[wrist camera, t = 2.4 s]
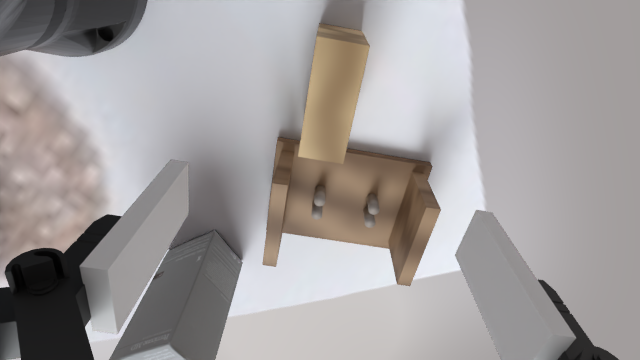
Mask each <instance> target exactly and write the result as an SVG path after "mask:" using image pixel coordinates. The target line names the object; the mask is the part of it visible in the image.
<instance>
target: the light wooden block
mask: <svg viewBox="0 0 640 360" xmlns="http://www.w3.org/2000/svg"><path fill="white" fill-rule="evenodd" d="M369 47H370V45H369V44H368V42H367V40H366V38H365V36H364V34H363V32H362V31H359V30H354V29H348V28H343V27H338V26H332V25H327V24H321V23H319V28H318V32H317V38H316V44H315V50H314V57H313V63H312V70H311V76H310V83H309V89H308V95H307V102H306V108H305V115H304V121H303V128H302V134H301V141H300V147H299V153H298V157H303V158H309V159H316V160H322V161H328V162H334V163H340V164H343V162H344V158H345V153H346V149H347V145H348V140H349V136H350V131H351V127H352V122H353V118H354V114H355V109H356V105H357V100H358V96H359V92H360V87H361V83H362V78H363V74H364V69H365V65H366V61H367V56H368V52H369Z"/></svg>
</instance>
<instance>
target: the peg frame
mask: <svg viewBox="0 0 640 360" xmlns="http://www.w3.org/2000/svg"><path fill="white" fill-rule="evenodd" d="M299 147H300V141H298V140H292V139H286V138H280V137H278V139H277V145H276V153H275V162H274V170H273V178H272V186H271V195H270V203H269V211H268V220H267V228H266V230H267V232H266V241H265V249H264V257H263V265H267V266H274V267H276V264H277V258H278V253H279V247H280V242H281V237H282V233H288V234H295V235H302V236H308V237H315V238H322V239H328V240H335V241H342V242H348V243H355V244H362V245H368V246H375V247H382V248H388V249H390V253H391V258H392V262H393V267H394V272H395V276H396V281H397V284H399V285H406V286H410V285H411V282H412V280H413V277H414V275H415V272H416V270H417V267H418V265H419V263H420V260H421V258H422V255H423V253H424V250H425V248H426V245H427V243H428V240H429V238H430V235H431V233H432V231H433V228H434V226H435V223H436V221H437V218H438V216H439V213H440V211H441V209H440V207H439V205H438V202H437V200H436V198H435V196H434V194H433V192H432V189H431V187H430V185H429V183H428V181H427V180H428V177H429V174H430V172H431V169H432V165H431V163H430V162H424V161H418V160H412V159H406V158H400V157H394V156H388V155H382V154H376V153H370V152H364V151H358V150H352V149H346V153H345V158H344V162H343V164H340V163H334V162H328V161H322V160H316V159H309V158H303V157H298V153H299Z"/></svg>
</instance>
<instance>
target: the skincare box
mask: <svg viewBox="0 0 640 360" xmlns="http://www.w3.org/2000/svg"><path fill="white" fill-rule="evenodd" d="M241 267H242V261H241V260H240V259H239V258H238V256H237V255H236V254H235V253H234V252H233V251H232V250H231V249H230V248H229V246H228V245H227V244H226V243H225V242H224V240H223V239H222V238H221V237H220V236H219V234H218V233H217V232H216V230H214V231H212V232H210V233H208V234H206V235H203V236H200V237H198V238H196V239H193V240H191V241H189V242H186V243H184V244H182V245H180V246H178V247H176V248H174V249H172V250H170V251H168V252H167V254H166V256H165V258H164V259H163V261H162V263H161V265H160V267H159V269H158V271H157V272H156V274H155V276H154V278H153V280H152V282H151V284H150V285H149V287H148V289H147V291H146V293H145V295H144V296H143V298H142V300H141V302H140V304H139V306H138V308H137V309H136V311H135V313H134V315H133V317H132V319H131V321H130V322H129V324H128V326H127V328H126V330H125V332H124V334H123V336H122V337H121V339H120V341H119V343H118V345H117V346H116V348H115V350H114V352H113V354H112V356H111V357H110V359H109V360H215V359H216V355H217V351H218V348H219V344H220V341H221V337H222V334H223V330H224V327H225V323H226V320H227V316H228V312H229V309H230V305H231V302H232V298H233V295H234V291H235V288H236V284H237V281H238V277H239V274H240V270H241Z"/></svg>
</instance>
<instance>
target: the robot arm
mask: <svg viewBox="0 0 640 360" xmlns="http://www.w3.org/2000/svg"><path fill="white" fill-rule="evenodd" d="M146 3H147V0H0V56H3V55H7V54H11V53H14V52H18V51H21V50H31V51H36V52H42V53H48V54H53V55H59V56H66V57H81V56H89V55H94V54H97V53H100V52H103V51H106V50H109V49H112V48H114V47H116V46H118V45H119V44H121V43H122V42H124V41H125V40H126V39H127V38H128V37H130V36H131V34H132V33H133V32H134V31H135V29H136V28H137V26H138V25H139V23H140V21H141V19H142V17H143V14H144V11H145V8H146ZM188 214H189V163H188V162H182V161H176V160H170V161H169V162H168V163H167V165H166V166H165V167H164V168H163V169H162V170H161V172H160V173H159V174H158V175H157V176H156V177H155V179H154V180H153V181H152V182H151V183H150V184H149V186H148V187H147V188H146V189H145V190H144V191H143V193H142V194H141V195H140V196H139V197H138V198H137V200H136V201H135V202H134V203H133V204H132V205H131V207H130V208H129V209H128V210H127V211H126V212H125V214H124V215H123V216H115V215H109V214H107V215H105V216H104V217H102V218H100V219H98V220H96V221H94V222H93V223H92V224H91V225H90V226H89V227H88V228H87V229H86V231H85V232H84V233H83V234H82V235H81V236H80V237H79V238H78V239H77V241H75V242H74V243H73V244H72V245H71V246H70V247H69V248H68V249H67V250H66V252H65V253H64V254H63V253H62V252H61V251H59V250H57V249H53V248H40V249H34V250H31V251H28V252H25V253H22V254H20V255H19V256H17V257H15V258H14V259H12V260H11V262H10V263H9V264H8V265H7V266H6V270H5V275H6V278H7V281H8V284H9V287H5V288H0V360H9V359H16V358H21V360H94V357H93V354H92V351H91V347H90V344H89V340H88V337H87V334H86V330H85V326H86V324H87V323H88V322H89V320H91V325H92V330H93V331H97V332H104V333H112V334H118V333H119V331H120V329H121V328H122V326H123V324H124V322H125V321H126V319H127V317H128V316H129V314H130V312H131V311H132V309H133V307H134V306H135V304H136V302H137V300H138V299H139V297H140V295H141V294H142V292H143V290H144V289H145V287H146V285H147V283H148V282H149V280H150V278H151V277H152V275H153V273H154V272H155V270H156V268H157V267H158V265H159V263H160V261H161V260H162V258H163V256H164V255H165V253H166V251H167V250H168V248H169V246H170V244H171V243H172V241H173V239H174V238H175V236H176V234H177V233H178V231H179V229H180V228H181V226H182V224H183V222H184V221H185V219H186V217H187V216H188ZM455 256H456V259H457V261H458V263H459V265H460V268H461V270H462V272H463V274H464V277H465V279H466V281H467V283H468V286H469V288H470V290H471V293H472V295H473V297H474V300H475V302H476V304H477V306H478V308H479V311H480V313H481V315H482V318H483V320H484V322H485V324H486V327H487V329H488V331H489V334H490V336H491V338H492V340H493V342H494V345H495V347H496V350H497V352H498V354H499V356H500V359H501V360H618V358H616V357H615V356H613V355H612V354H611V353H609V352H608V351H606V350H604V349H602V348H599V347H595V346H594V345H593V344H592V342H591V341H590V340H589V338H588V337H587V335H586V334H585V333H584V331H583V330H582V328H581V327H580V325H579V324H578V322H577V321H576V320H575V318H574V317H573V315H572V314H570V311H569V310H568V308H567V307H566V305H564V304H563V301H562V300H561V298H560V297H559V296H558V294H557V293H556V291H555V290H554V289H552V288H551V287H550V286H549V285H548V284H547V283H546V282H545V281H543V280H537V278H536V277H535V276H534V274H533V273H532V271H531V270H530V268H529V267H528V265H527V264H526V262H525V261H524V259H523V258H522V256H521V255H520V253H519V252H518V250H517V249H516V247H515V246H514V244H513V243H512V241H511V240H510V238H509V237H508V235H507V234H506V232H505V231H504V229H503V228H502V226H501V225H500V223H499V222H498V220H497V219H496V217H495V216H494V215H493V213H491V212H486V211H480V210H476V211H475V214H474V216H473V218H472V220H471V222H470V224H469V226H468V228H467V231H466V233H465V235H464V237H463V239H462V241H461V243H460V245H459V248H458V250H457V252H456V254H455Z"/></svg>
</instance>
